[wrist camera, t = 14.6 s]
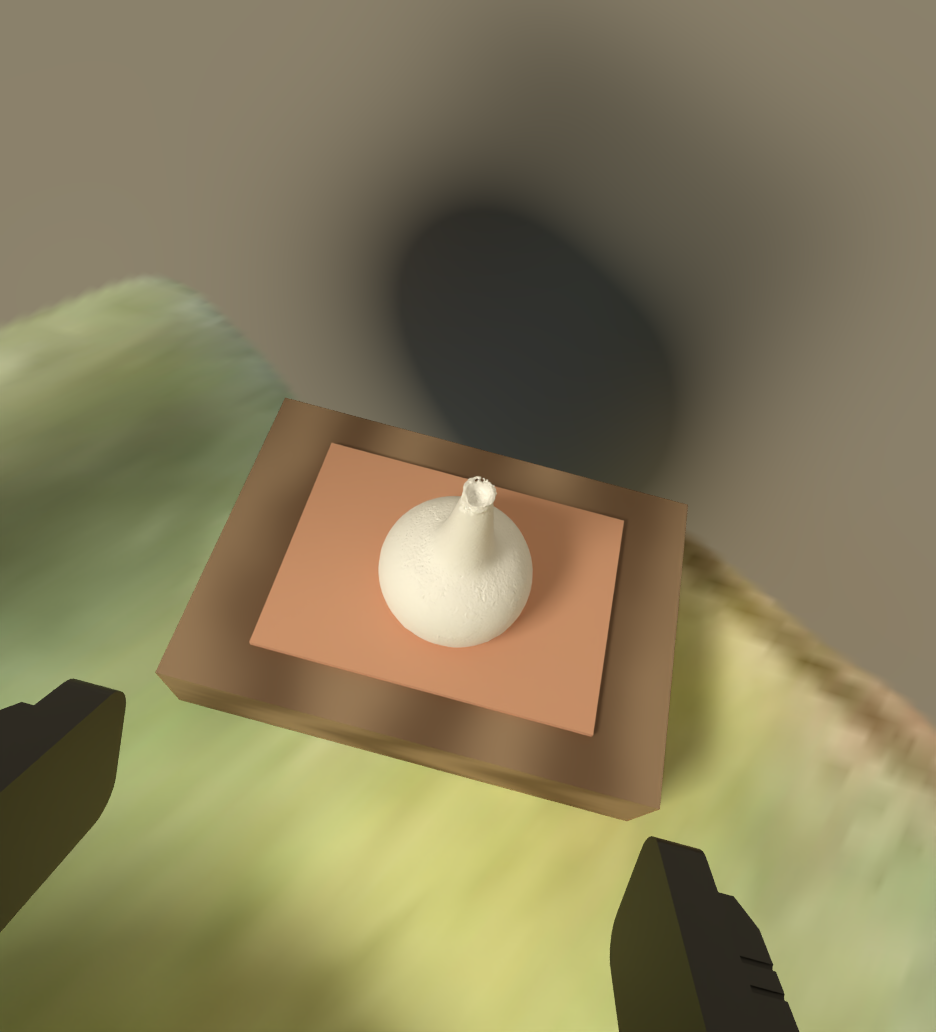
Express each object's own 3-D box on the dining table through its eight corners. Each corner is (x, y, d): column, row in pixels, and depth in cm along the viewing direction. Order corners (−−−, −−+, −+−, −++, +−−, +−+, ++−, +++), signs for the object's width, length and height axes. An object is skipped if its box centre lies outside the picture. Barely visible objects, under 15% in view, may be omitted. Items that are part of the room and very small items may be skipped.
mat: (250, 644, 28) (248, 642, 28) (331, 446, 33) (331, 442, 33) (591, 736, 28) (593, 735, 28) (622, 523, 33) (624, 520, 33)
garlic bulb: (351, 605, 30) (331, 529, 23) (430, 491, 32) (435, 391, 25) (480, 684, 29) (503, 631, 22) (552, 561, 31) (594, 476, 24)
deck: (179, 699, 31) (155, 672, 28) (292, 444, 38) (285, 397, 34) (626, 821, 31) (659, 809, 27) (658, 542, 38) (687, 504, 34)
